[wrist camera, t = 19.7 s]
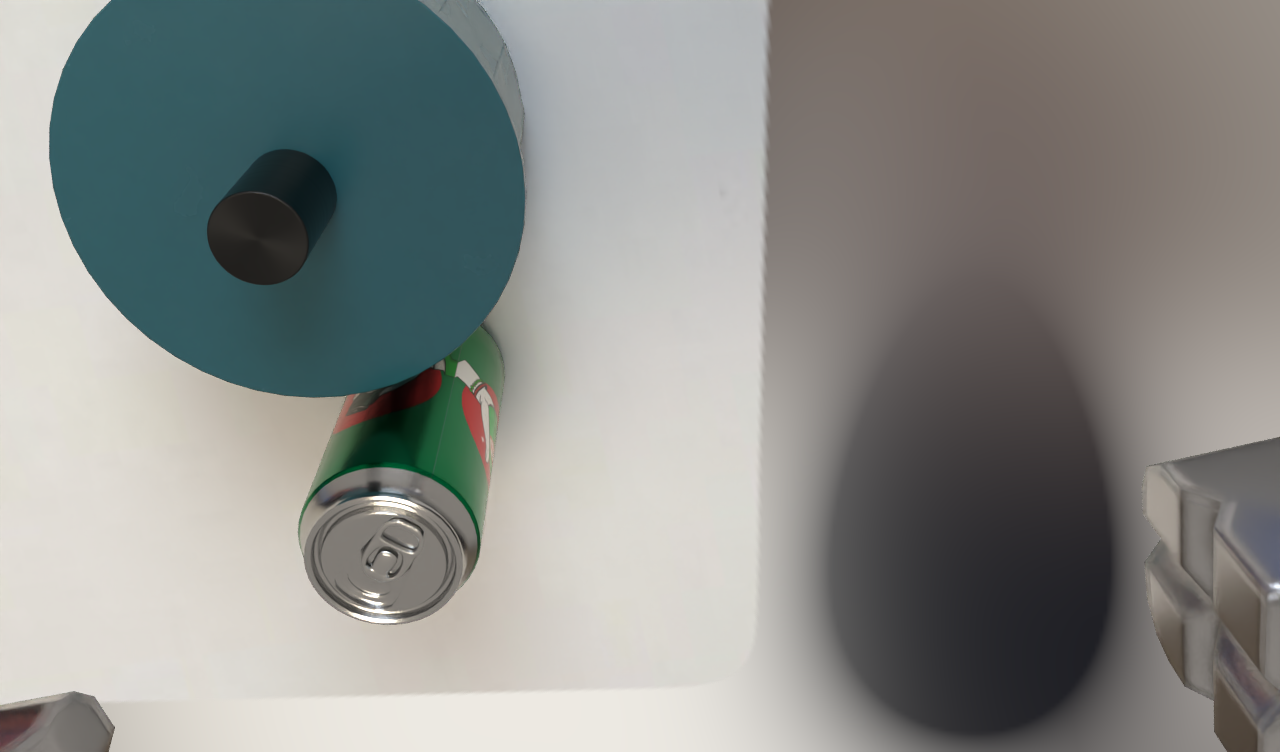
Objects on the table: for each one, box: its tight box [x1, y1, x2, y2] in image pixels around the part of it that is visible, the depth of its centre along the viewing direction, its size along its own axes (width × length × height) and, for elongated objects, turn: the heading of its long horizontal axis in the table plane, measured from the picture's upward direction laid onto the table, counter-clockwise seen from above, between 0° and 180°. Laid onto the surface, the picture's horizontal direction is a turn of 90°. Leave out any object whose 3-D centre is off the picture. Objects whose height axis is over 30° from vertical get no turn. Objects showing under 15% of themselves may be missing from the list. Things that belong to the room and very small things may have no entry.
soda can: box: [298, 326, 505, 625], centre depth 37 cm, size 5×5×12 cm
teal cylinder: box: [425, 0, 524, 147], centre depth 35 cm, size 11×11×8 cm
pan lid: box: [49, 0, 526, 398], centre depth 30 cm, size 12×12×5 cm
